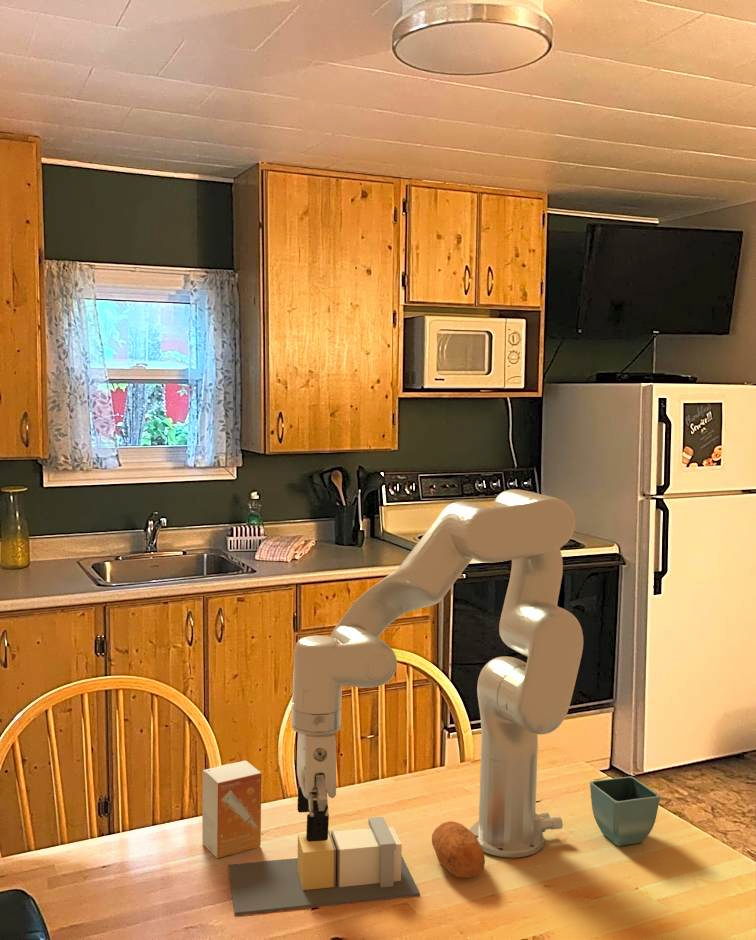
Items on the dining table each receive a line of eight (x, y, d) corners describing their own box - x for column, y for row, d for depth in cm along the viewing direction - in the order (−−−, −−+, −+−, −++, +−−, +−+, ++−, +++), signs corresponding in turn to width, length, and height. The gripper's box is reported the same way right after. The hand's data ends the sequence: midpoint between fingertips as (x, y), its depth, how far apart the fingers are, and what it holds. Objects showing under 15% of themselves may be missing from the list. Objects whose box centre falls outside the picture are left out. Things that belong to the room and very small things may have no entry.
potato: (445, 890, 148) (446, 846, 148) (425, 850, 161) (426, 809, 160) (490, 886, 150) (491, 842, 149) (466, 846, 162) (467, 806, 161)
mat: (398, 850, 160) (398, 848, 160) (419, 895, 147) (420, 893, 147) (228, 867, 154) (228, 864, 154) (234, 915, 141) (234, 912, 141)
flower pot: (630, 823, 171) (632, 775, 170) (659, 846, 163) (661, 796, 162) (586, 830, 169) (588, 781, 168) (614, 854, 160) (616, 802, 159)
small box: (217, 860, 156) (217, 783, 155) (201, 843, 162) (201, 769, 160) (262, 847, 161) (262, 772, 160) (245, 831, 166) (245, 759, 165)
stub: (328, 867, 154) (329, 830, 153) (335, 887, 148) (336, 849, 147) (297, 870, 153) (297, 833, 152) (302, 890, 147) (303, 852, 146)
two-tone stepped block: (389, 857, 157) (390, 816, 157) (403, 886, 149) (404, 842, 148) (329, 863, 155) (329, 821, 154) (339, 892, 146) (339, 848, 146)
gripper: (350, 737, 140) (346, 850, 141) (330, 698, 157) (326, 800, 158) (299, 739, 138) (295, 854, 140) (284, 700, 155) (281, 802, 157)
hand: (312, 825), depth 149 cm, fingers open, 9 cm apart
